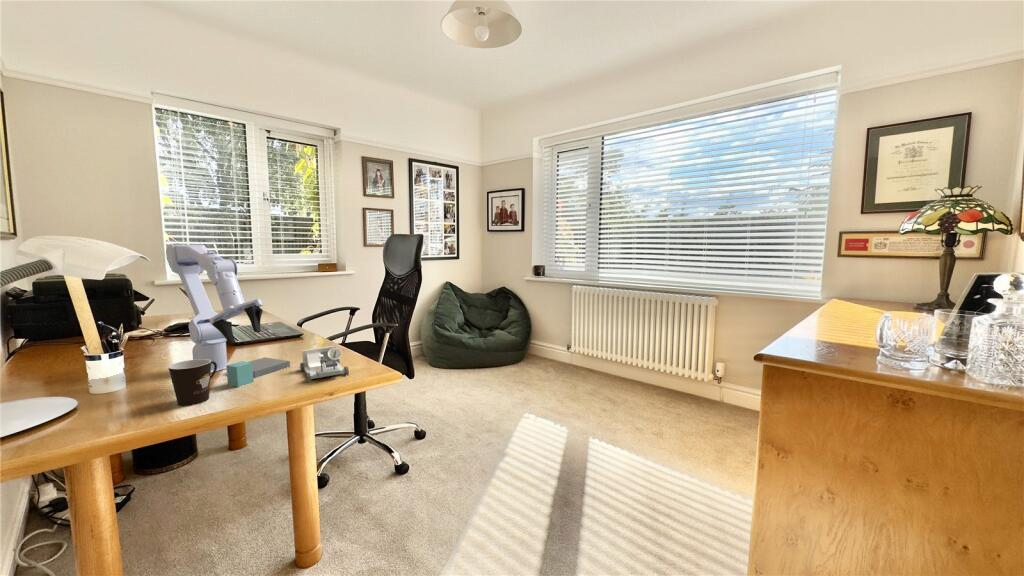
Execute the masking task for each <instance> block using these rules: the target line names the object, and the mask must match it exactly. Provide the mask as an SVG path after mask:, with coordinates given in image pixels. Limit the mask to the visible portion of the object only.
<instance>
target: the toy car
mask: <svg viewBox="0 0 1024 576" xmlns="http://www.w3.org/2000/svg"><path fill="white" fill-rule="evenodd" d="M342 356H343V351H342V350H341V349H340V348H337V346H336V345H332V346H326V347H317V348H311V349H302V362H300V364H299V368H300V371H302V372H305V378H306V382H307V383H311V382H312V380H314V379H315V380H316V379H321V378H326V377H332V376H336V375H345V374H346V375H347V376H349V375H350V374H349V373H350V370H349V366H348V365H347V366H342V365H341V363H340V362H341V361H340V358H342ZM346 375H345V376H346Z"/></svg>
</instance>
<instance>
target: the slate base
mask: <svg viewBox="0 0 1024 576" xmlns="http://www.w3.org/2000/svg"><path fill="white" fill-rule="evenodd" d="M248 362H250V363H252V367H253V379H256V378H259V377H263V376H266V375H269V374H272V373H275V372H279V371H281V369H282V370H285V369H288V368H290V367H291V362H290V360H285V359H284V360H283V359H278V358H272V357H261V358H257V359H253V360H251V361H248ZM287 367H288V368H287ZM284 368H285V369H284Z"/></svg>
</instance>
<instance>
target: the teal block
mask: <svg viewBox="0 0 1024 576" xmlns="http://www.w3.org/2000/svg"><path fill="white" fill-rule="evenodd" d="M229 364H230V365H226V377H227V378H226V380H227V386H229V385H231V386H230V387H234V386H236V387H235V388H240V386H241V387H243V386H242V385H244V386H247V385H250V384H252V382H253V383H254V378H253V367H252V363H250V362H249V361H242V360H241V361H238V362H233V363H229ZM249 383H250V384H249ZM246 384H247V385H246Z"/></svg>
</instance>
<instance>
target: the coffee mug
mask: <svg viewBox="0 0 1024 576" xmlns="http://www.w3.org/2000/svg"><path fill="white" fill-rule="evenodd" d="M211 363H212V364H214V371H213V372H212V373H211ZM216 370H217V364H216V362H214V361H211V360H209V359H195V360H193V359H190V360H189V359H188V360H184V361H183V360H182V361H179V362H175V363H172V364H170V365H168V371H169V376H170V379H171V383H172V387H173V390H174V391H173V392H174V395H175V398H176V402H177V405H178V406H179V405H180V406H179V407H187V406H188V407H189V406H194V405H195V406H196V405H199V404H202V403H205V402H207V401H209V399H210V390H211V389H210V387H211V380H212V378H213V377H214V376H215V374H216V372H217V371H216Z"/></svg>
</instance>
